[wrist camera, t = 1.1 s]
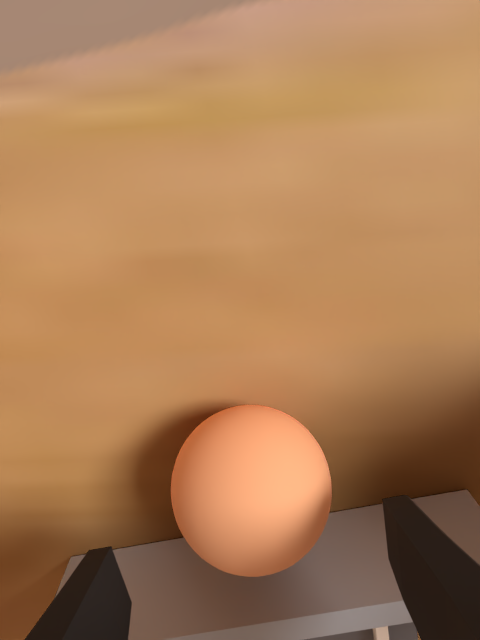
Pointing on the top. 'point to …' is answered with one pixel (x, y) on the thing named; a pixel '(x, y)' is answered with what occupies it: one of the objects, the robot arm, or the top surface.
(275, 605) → the grey wall
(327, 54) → the top surface
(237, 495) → the coral ball
